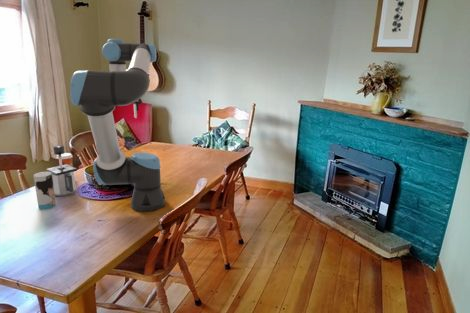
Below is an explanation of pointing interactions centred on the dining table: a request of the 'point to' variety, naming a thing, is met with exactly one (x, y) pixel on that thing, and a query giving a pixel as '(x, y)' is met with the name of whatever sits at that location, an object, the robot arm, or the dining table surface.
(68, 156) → the paper cup
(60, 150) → the plunger
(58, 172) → the lidded canister
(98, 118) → the robot arm
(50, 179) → the cup
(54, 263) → the dining table surface
